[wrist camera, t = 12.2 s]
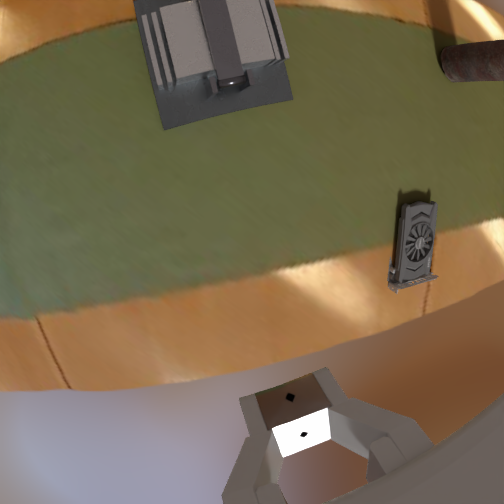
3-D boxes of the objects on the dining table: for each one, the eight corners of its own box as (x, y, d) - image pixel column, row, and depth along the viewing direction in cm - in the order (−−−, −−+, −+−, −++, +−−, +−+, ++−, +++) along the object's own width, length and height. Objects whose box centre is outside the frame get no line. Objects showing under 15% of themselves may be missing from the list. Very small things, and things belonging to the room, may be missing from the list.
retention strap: (244, 83, 34) (247, 82, 33) (218, 89, 34) (220, 88, 33) (219, -21, 28) (221, -24, 27) (193, -16, 27) (194, -20, 26)
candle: (432, 66, 44) (518, 60, 26) (440, 39, 42) (522, 28, 24) (456, 89, 47) (539, 92, 29) (463, 62, 45) (542, 60, 27)
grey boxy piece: (164, 130, 39) (161, 128, 31) (134, 3, 32) (125, -26, 23) (290, 100, 42) (320, 93, 33) (258, -19, 34) (279, -49, 25)
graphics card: (439, 282, 57) (396, 295, 55) (427, 275, 61) (384, 286, 58) (450, 201, 51) (405, 205, 49) (436, 196, 55) (392, 200, 52)
